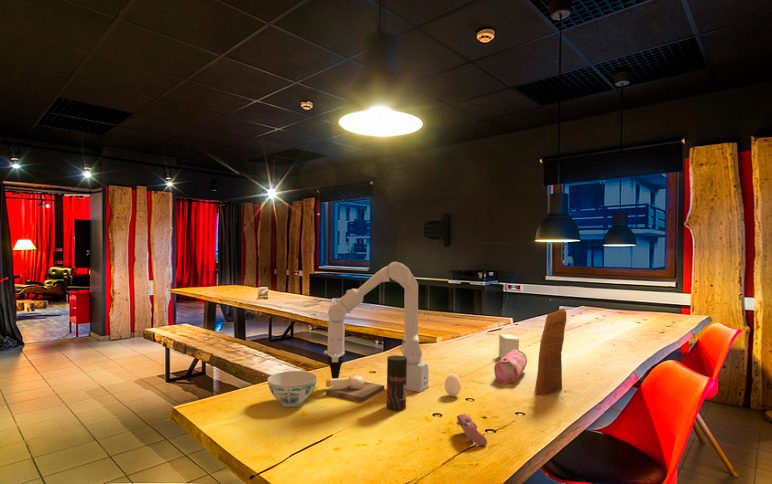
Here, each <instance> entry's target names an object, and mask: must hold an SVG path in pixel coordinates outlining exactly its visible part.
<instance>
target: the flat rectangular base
mask: <svg viewBox="0 0 772 484" xmlns="http://www.w3.org/2000/svg"><path fill="white" fill-rule="evenodd" d="M384 391H385V385H383V384H379V383H372V382H368V381H364V383H363V388H361V389H351V388H349V387H348V385H343V386H331V387H328V388H327V389H326V393H325V395H327V396H332V397H336V398H340V399H341V398H342V399H345V400H351V401H355V402H360V403H363V402H365V401H367V400H369V399H370V398H373V397H374V396H377V395H378V394H379V393H382V392H384Z"/></svg>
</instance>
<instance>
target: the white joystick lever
mask: <svg viewBox="0 0 772 484" xmlns="http://www.w3.org/2000/svg"><path fill="white" fill-rule="evenodd" d="M364 382H365V380H364V376H362V375H350V376H348V377H342V378H341V377H338V378H334V379H333V378H326V379H325V386H326V388H331V387H333V386H343V385H348V387H349V388H351V389H361V388H363V383H364Z"/></svg>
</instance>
